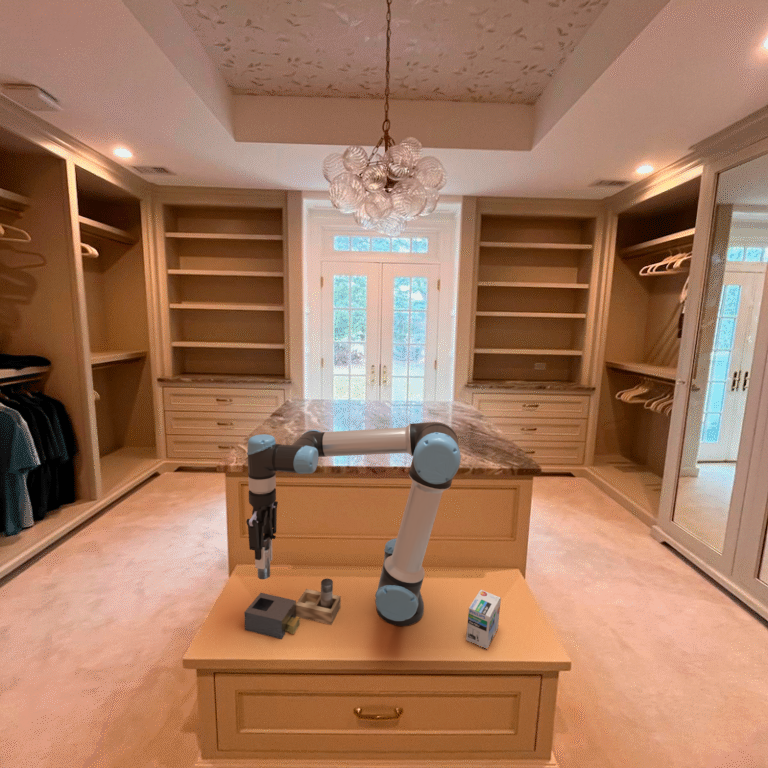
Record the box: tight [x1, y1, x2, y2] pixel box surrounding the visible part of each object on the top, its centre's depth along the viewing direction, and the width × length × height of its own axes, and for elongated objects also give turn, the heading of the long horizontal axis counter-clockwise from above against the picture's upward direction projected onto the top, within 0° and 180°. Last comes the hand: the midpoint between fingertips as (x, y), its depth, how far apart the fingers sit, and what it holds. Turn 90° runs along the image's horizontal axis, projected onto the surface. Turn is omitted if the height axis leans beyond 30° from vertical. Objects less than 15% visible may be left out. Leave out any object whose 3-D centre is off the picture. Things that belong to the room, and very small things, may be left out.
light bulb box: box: [465, 589, 502, 649], centre depth 126 cm, size 11×7×11 cm, turn 148°
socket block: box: [243, 592, 297, 640], centre depth 126 cm, size 12×9×6 cm
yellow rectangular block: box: [285, 616, 301, 635], centre depth 126 cm, size 11×4×3 cm, turn 76°
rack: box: [296, 578, 342, 626], centre depth 132 cm, size 12×8×11 cm, turn 76°
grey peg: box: [257, 535, 271, 580], centre depth 124 cm, size 4×4×12 cm
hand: (264, 563), depth 124 cm, fingers closed on grey peg, 4 cm apart
